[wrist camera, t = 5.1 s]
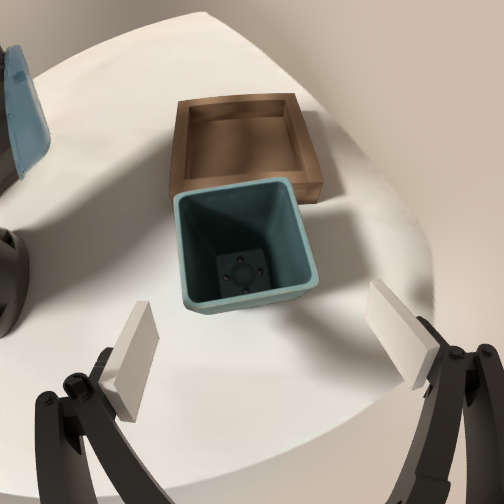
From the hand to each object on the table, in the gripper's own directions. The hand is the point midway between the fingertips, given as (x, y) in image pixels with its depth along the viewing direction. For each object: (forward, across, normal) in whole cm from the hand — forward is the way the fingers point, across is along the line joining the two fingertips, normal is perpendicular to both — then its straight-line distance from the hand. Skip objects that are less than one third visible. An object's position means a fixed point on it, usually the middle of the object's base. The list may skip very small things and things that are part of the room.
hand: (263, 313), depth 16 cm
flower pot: (+11, -1, -3) cm, 11 cm away
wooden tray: (+21, 0, +8) cm, 23 cm away
